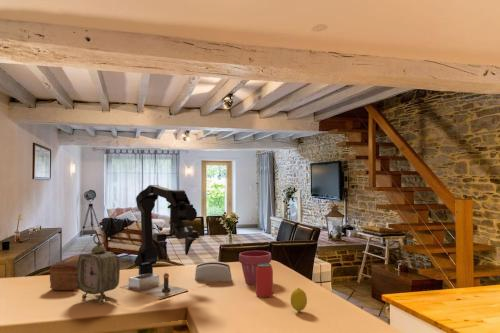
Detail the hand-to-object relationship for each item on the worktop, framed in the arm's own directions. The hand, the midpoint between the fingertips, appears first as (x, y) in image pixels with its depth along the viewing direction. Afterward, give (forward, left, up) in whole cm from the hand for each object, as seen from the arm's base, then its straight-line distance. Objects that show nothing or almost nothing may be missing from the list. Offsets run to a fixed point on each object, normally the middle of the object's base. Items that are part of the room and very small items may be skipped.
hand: (176, 256), depth 159 cm
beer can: (+38, +11, -13) cm, 42 cm away
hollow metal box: (-10, -9, -12) cm, 18 cm away
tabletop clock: (-11, -29, -13) cm, 34 cm away
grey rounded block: (+6, +17, -14) cm, 23 cm away
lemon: (+58, +2, -13) cm, 59 cm away
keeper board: (-4, -9, -13) cm, 16 cm away
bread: (-41, -20, -14) cm, 48 cm away
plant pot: (+23, +26, -13) cm, 37 cm away
